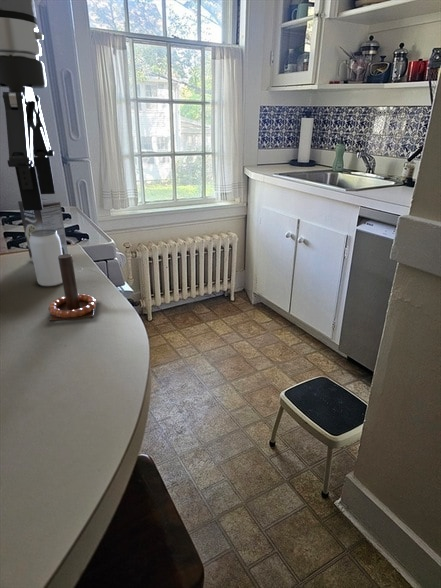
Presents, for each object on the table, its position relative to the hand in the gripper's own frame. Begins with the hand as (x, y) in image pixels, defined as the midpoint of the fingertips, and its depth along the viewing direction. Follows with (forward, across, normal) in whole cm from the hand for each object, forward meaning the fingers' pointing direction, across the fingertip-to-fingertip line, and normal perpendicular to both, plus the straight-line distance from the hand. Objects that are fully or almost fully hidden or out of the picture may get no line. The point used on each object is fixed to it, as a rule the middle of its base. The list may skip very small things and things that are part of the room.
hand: (41, 201), depth 67 cm
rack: (+22, +1, -2) cm, 23 cm away
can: (+23, +19, +4) cm, 30 cm away
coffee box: (+23, +34, +7) cm, 42 cm away
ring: (+21, +1, -2) cm, 21 cm away
